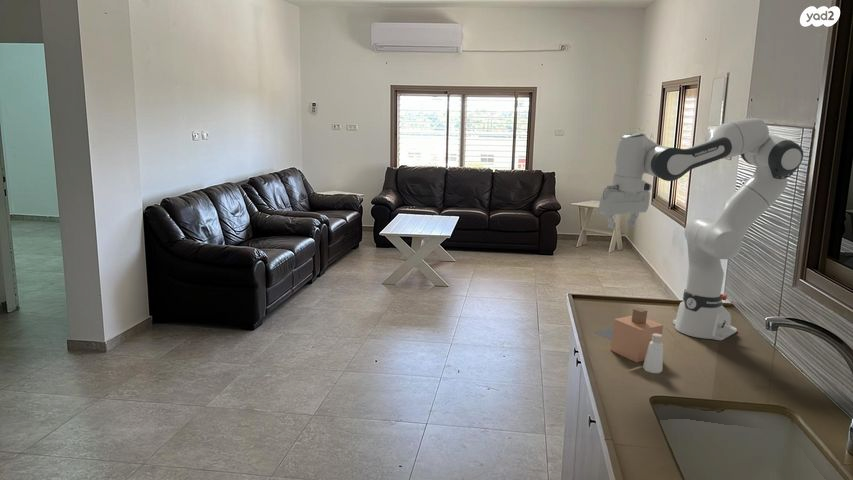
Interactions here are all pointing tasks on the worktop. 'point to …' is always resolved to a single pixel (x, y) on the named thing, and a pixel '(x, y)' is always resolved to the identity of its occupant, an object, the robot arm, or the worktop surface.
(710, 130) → the robot arm
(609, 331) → the mat
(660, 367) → the pepper shaker
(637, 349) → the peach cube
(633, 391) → the worktop surface
